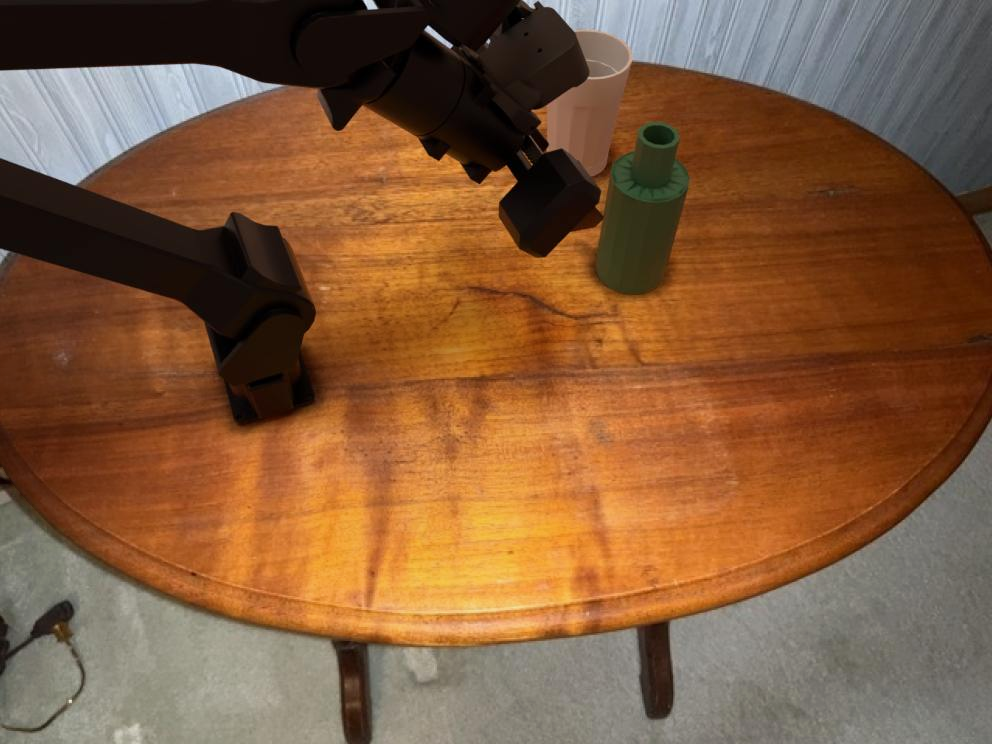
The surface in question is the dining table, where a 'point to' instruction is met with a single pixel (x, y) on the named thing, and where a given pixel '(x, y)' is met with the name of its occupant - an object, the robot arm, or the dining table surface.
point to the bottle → (642, 212)
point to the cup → (591, 102)
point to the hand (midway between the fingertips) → (570, 183)
